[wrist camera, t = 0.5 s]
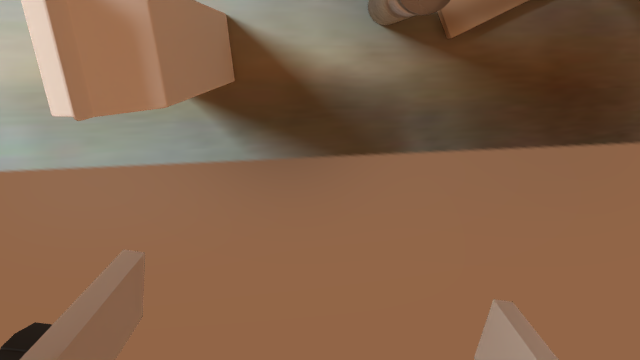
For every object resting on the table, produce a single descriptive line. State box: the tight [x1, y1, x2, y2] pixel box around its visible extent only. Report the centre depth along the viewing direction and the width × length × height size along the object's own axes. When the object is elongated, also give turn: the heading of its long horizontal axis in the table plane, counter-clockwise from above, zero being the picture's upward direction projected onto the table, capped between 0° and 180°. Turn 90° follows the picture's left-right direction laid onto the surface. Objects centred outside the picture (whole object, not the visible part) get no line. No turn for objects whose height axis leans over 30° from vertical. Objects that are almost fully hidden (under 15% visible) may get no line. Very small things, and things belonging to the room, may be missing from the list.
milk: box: [21, 0, 235, 121], centre depth 27 cm, size 6×6×22 cm
